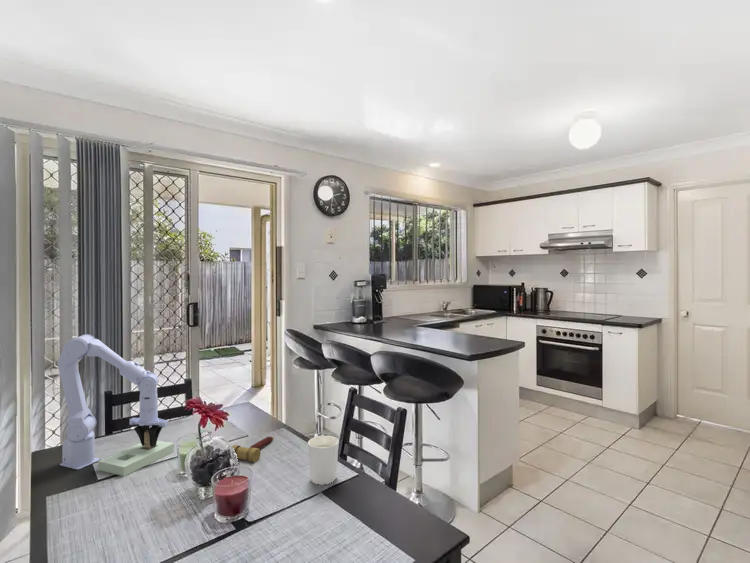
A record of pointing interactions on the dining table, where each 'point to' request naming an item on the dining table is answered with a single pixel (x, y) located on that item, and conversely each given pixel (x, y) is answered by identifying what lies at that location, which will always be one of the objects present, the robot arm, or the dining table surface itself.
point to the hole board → (134, 458)
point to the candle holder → (323, 459)
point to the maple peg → (147, 441)
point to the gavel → (251, 450)
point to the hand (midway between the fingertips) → (148, 445)
